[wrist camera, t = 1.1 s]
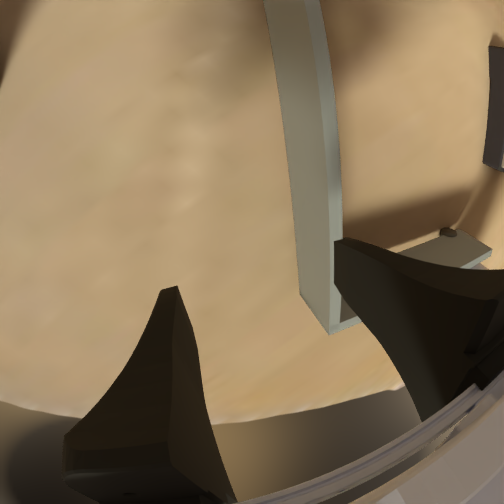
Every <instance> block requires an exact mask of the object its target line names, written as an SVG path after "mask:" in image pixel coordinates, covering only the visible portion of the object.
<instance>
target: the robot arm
mask: <svg viewBox="0 0 504 504" xmlns="http://www.w3.org/2000/svg"><path fill="white" fill-rule="evenodd" d="M334 284H335V286H336V288H337V289H338V291H339V293H340V294H341V296H342V297H343V299H344V300H345V302H346V303H347V304H348V305H349V307H350V308H351V309H352V310H353V311H354V312H355V314H356V315H357V316H358V317H359V318H360V319H361V321H362V322H363V323H364V324H365V325H366V326H367V328H368V329H369V330H370V331H371V332H372V334H373V335H374V336H375V337H376V338H377V340H378V341H379V342H380V344H381V345H382V346H383V348H384V350H385V351H386V353H387V354H388V356H389V357H390V359H391V360H392V362H393V364H394V366H395V367H396V369H397V371H398V372H399V374H400V376H401V378H402V380H403V381H404V383H405V385H406V387H407V389H408V391H409V393H410V395H411V397H412V399H413V402H414V404H415V406H416V409H417V411H418V413H419V416H420V419H421V421H422V423H421V424H419V425H418V426H416V427H415V428H413V429H411V430H410V431H408V432H407V433H405V434H403V435H402V436H400V437H398V438H397V439H395V440H393V441H392V442H390V443H388V444H386V445H385V446H383V447H381V448H379V449H377V450H375V451H374V452H372V453H370V454H368V455H366V456H364V457H362V458H360V459H358V460H356V461H354V462H352V463H350V464H348V465H345V466H343V467H341V468H339V469H337V470H334V471H332V472H330V473H327V474H325V475H322V476H320V477H317V478H315V479H313V480H310V481H307V482H304V483H302V484H299V485H296V486H293V487H290V488H287V489H284V490H281V491H278V492H275V493H272V494H269V495H265V496H261V497H258V498H254V499H250V500H247V501H243V502H237V499H236V497H235V494H234V492H233V489H232V487H231V484H230V481H229V479H228V476H227V473H226V470H225V468H224V465H223V462H222V459H221V456H220V453H219V450H218V447H217V444H216V441H215V437H214V434H213V430H212V427H211V423H210V420H209V416H208V413H207V409H206V404H205V399H204V392H203V385H202V378H201V371H200V363H199V355H198V348H197V344H196V340H195V336H194V332H193V327H192V325H191V322H190V319H189V317H188V314H187V311H186V309H185V306H184V303H183V300H182V298H181V295H180V292H179V289H178V286H174V287H170V288H166V289H163V290H161V291H160V293H159V296H158V298H157V301H156V304H155V306H154V309H153V311H152V314H151V316H150V318H149V321H148V323H147V325H146V328H145V330H144V332H143V334H142V336H141V338H140V340H139V342H138V344H137V346H136V348H135V350H134V352H133V354H132V356H131V357H130V359H129V361H128V362H127V364H126V366H125V367H124V369H123V370H122V372H121V373H120V375H119V376H118V377H117V379H116V380H115V381H114V383H113V384H112V385H111V387H110V388H109V390H108V391H107V392H106V393H105V395H104V396H103V397H102V398H101V399H100V400H99V402H98V403H97V404H96V405H95V406H94V407H93V408H92V409H91V411H90V412H89V413H88V414H87V415H86V416H85V417H84V418H83V419H82V420H81V421H79V422H78V423H77V424H76V425H75V426H74V427H73V428H72V429H71V430H70V431H69V432H68V433H67V434H65V435H64V442H63V452H62V480H63V481H64V482H65V483H66V484H67V485H68V486H69V487H70V488H72V489H74V490H75V491H77V492H79V493H81V494H83V495H85V496H87V497H89V498H91V499H93V500H95V501H98V502H99V503H100V504H316V503H319V502H322V501H324V500H327V499H329V498H331V497H334V496H336V495H338V494H341V493H343V492H345V491H347V490H349V489H351V488H354V487H356V486H358V485H360V484H362V483H364V482H366V481H368V480H370V479H372V478H373V477H375V476H377V475H379V474H381V473H383V472H384V471H386V470H388V469H390V468H391V467H393V466H395V465H397V464H398V463H400V462H401V461H403V460H405V459H406V458H408V457H409V456H411V455H412V454H414V453H416V452H417V451H419V450H420V449H422V448H423V447H425V446H426V445H428V444H429V443H430V442H432V441H433V440H435V439H436V438H437V437H439V436H440V435H441V434H443V433H444V432H445V431H447V430H448V429H449V428H451V427H452V426H453V425H454V424H456V423H457V422H458V421H459V420H461V419H462V418H463V417H464V416H465V415H467V414H468V415H467V416H466V417H464V418H463V420H461V421H460V422H459V423H458V424H457V425H456V427H455V428H454V430H453V431H452V432H451V434H450V435H449V436H448V437H447V438H446V439H445V440H444V441H443V442H442V443H441V444H440V445H439V446H438V447H437V448H436V449H435V452H433V453H432V454H430V455H429V456H428V457H426V458H425V459H423V460H422V461H420V462H419V463H417V464H416V465H414V466H413V467H411V468H410V469H408V470H407V471H405V472H404V473H402V474H401V475H399V476H397V477H396V478H394V479H392V480H391V481H389V482H388V483H386V484H384V485H382V486H381V487H379V488H377V489H375V490H374V491H372V492H370V493H368V494H366V495H364V496H362V497H360V498H359V499H357V500H355V501H353V502H351V503H349V504H504V269H501V270H489V269H488V268H486V267H485V266H483V265H482V264H481V263H478V264H477V265H475V266H473V267H472V268H470V269H466V268H458V267H451V266H444V265H439V264H435V263H430V262H425V261H421V260H418V259H414V258H411V257H407V256H404V255H401V254H398V253H395V252H392V251H389V250H386V249H383V248H380V247H377V246H374V245H371V244H368V243H365V242H362V241H359V240H355V239H351V238H343V239H340V240H337V241H334Z"/></svg>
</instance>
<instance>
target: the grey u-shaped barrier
mask: <svg viewBox="0 0 504 504" xmlns="http://www.w3.org/2000/svg"><path fill="white" fill-rule="evenodd" d="M263 2H264V7H265V13H266V18H267V24H268V29H269V35H270V41H271V46H272V52H273V59H274V65H275V71H276V78H277V84H278V91H279V98H280V105H281V112H282V120H283V127H284V135H285V143H286V151H287V159H288V168H289V177H290V186H291V196H292V206H293V216H294V227H295V238H296V250H297V262H298V275H299V290H300V295H301V297H302V298H303V300H304V301H305V302H306V304H307V305H308V307H309V308H310V309H311V311H312V312H313V314H314V315H315V316H316V318H317V319H318V321H319V322H320V324H321V325H322V326H323V328H324V329H325V331H326V332H327V333H328V335H331V334H334V333H336V332H339V331H341V330H344V329H346V328H349V327H351V326H353V325H356V324H358V323H361V322H362V321H361V319H360V318H359V317H358V316H357V315H356V314H355V312H354V311H353V310H352V309H351V308H350V307H349V305H348V304H347V303H346V302H345V300H344V299H343V297H342V296H341V294H340V293H339V291H338V289H337V288H336V286H335V284H334V241H337V240H340V239H343V231H342V186H341V165H340V148H339V135H338V123H337V113H336V103H335V94H334V85H333V77H332V70H331V63H330V56H329V50H328V43H327V37H326V32H325V26H324V21H323V15H322V10H321V5H320V1H319V0H263ZM491 253H492V249H491V248H490V247H488V246H487V245H485V244H484V243H482V242H480V241H479V240H477V239H475V238H474V237H472V236H471V235H469V234H467V233H466V232H464V231H462V230H460V229H458V230H453V229H450V228H443V229H442V230H441V235H440V237H438V238H435V239H432V240H430V241H427V242H425V243H422V244H419V245H417V246H414V247H411V248H409V249H406V250H403V251H401V252H398V254H401V255H404V256H407V257H411V258H414V259H418V260H421V261H425V262H430V263H435V264H439V265H444V266H451V267H458V268H466V269H470V268H472V267H473V266H475V265H477V264H478V263H480V262H482V261H483V260H485V259H487V258H488V257H490V256H491Z"/></svg>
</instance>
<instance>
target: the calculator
mask: <svg viewBox="0 0 504 504" xmlns="http://www.w3.org/2000/svg"><path fill="white" fill-rule="evenodd" d="M489 77H490V80H491V83H490V97H489V108H488V120H487V130H486V139H485V147H484V154H483V163H484V164H486V165H488V166H490V167H492V168H494V169H496V170H499V171H501V172H504V48H502V47H495V46H489Z"/></svg>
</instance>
